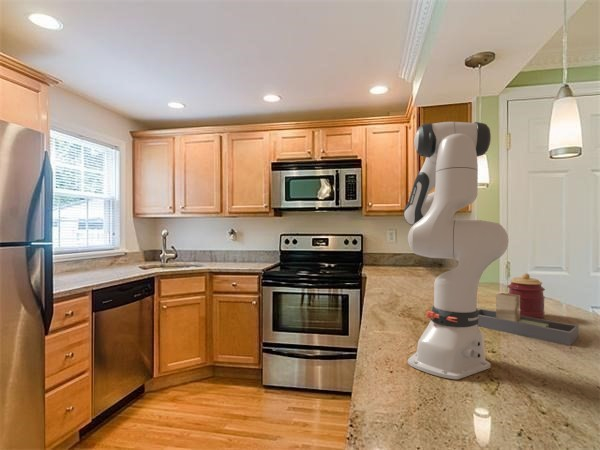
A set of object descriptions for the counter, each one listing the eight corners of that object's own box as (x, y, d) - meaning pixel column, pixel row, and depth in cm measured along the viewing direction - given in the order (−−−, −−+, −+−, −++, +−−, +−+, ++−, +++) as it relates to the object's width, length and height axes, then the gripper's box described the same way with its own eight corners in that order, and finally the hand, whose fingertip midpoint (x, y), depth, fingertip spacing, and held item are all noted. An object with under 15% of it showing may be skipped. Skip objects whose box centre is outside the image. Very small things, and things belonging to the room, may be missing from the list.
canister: (533, 312, 151) (533, 271, 151) (552, 320, 138) (552, 275, 138) (501, 311, 152) (502, 270, 152) (517, 319, 139) (517, 275, 139)
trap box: (570, 345, 110) (570, 332, 110) (467, 323, 133) (467, 313, 133) (578, 337, 118) (578, 325, 118) (479, 318, 141) (480, 308, 141)
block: (514, 323, 124) (514, 297, 124) (495, 319, 128) (496, 294, 128) (519, 319, 128) (520, 295, 128) (501, 316, 132) (502, 292, 132)
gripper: (434, 225, 138) (459, 251, 131) (457, 225, 152) (481, 249, 144) (424, 236, 141) (447, 262, 134) (447, 235, 155) (470, 259, 148)
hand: (465, 255), depth 139 cm, fingers closed
